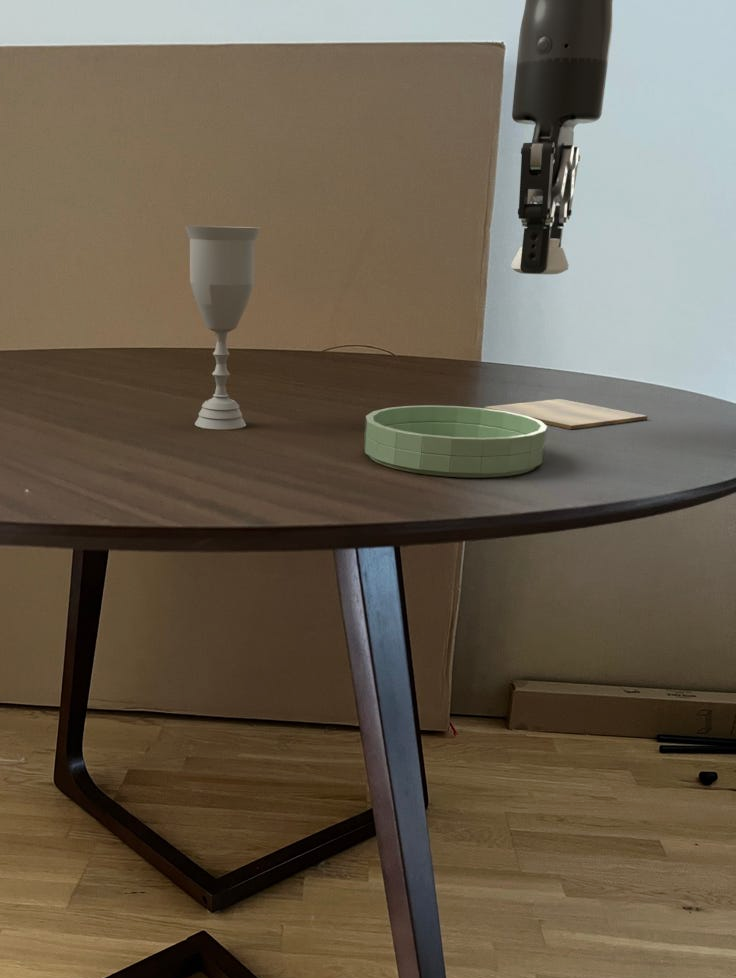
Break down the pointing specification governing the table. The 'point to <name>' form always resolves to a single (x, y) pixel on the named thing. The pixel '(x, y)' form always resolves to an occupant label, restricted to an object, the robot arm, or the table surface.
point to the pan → (455, 441)
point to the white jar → (555, 259)
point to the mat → (569, 413)
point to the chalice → (221, 303)
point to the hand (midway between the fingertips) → (539, 270)
